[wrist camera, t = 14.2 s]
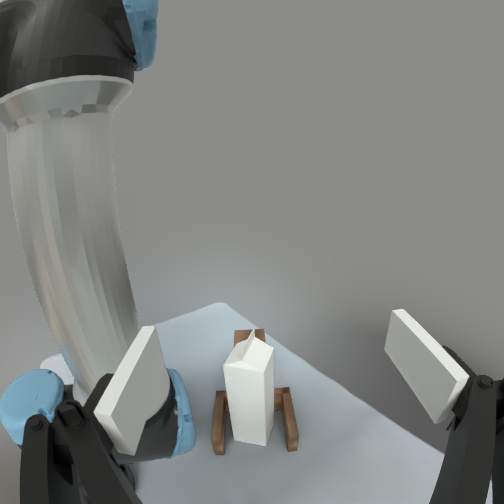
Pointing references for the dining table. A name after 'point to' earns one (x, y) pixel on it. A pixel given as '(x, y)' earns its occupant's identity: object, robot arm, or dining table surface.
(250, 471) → the dining table surface
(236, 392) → the milk
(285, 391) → the post bracket
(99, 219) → the robot arm
